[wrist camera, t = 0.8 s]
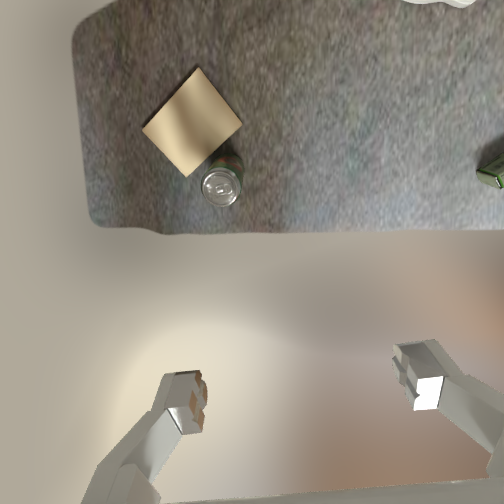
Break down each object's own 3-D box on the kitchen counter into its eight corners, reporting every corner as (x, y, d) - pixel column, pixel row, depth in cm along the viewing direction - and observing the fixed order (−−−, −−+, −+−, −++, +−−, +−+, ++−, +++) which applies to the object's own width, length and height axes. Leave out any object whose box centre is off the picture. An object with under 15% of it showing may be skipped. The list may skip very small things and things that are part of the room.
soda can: (209, 156, 42) (193, 173, 31) (240, 149, 41) (235, 164, 31) (217, 187, 44) (206, 213, 34) (247, 181, 43) (245, 205, 33)
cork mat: (199, 67, 36) (198, 67, 36) (242, 123, 39) (242, 124, 39) (143, 129, 40) (142, 130, 39) (187, 176, 43) (186, 177, 43)
